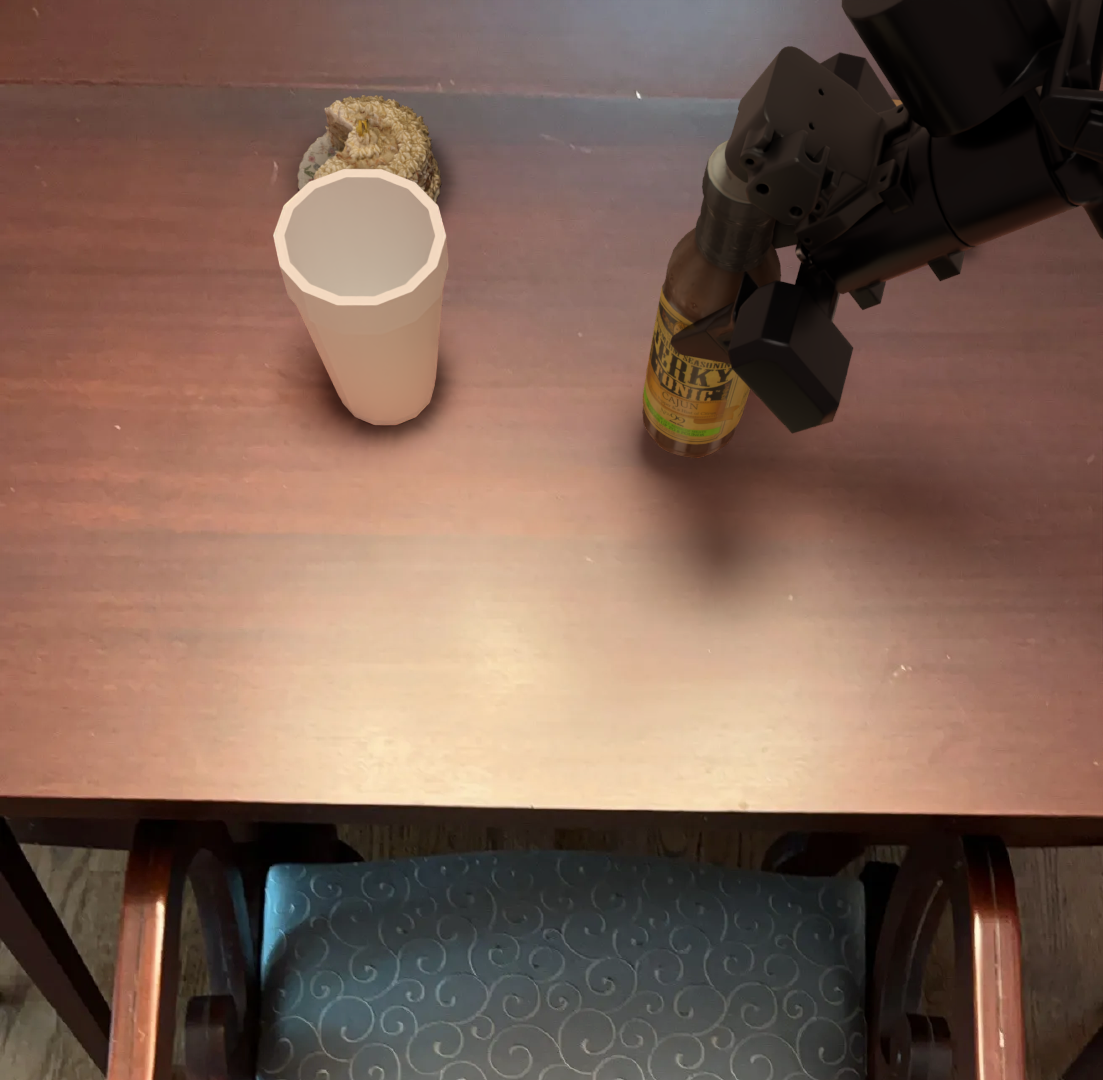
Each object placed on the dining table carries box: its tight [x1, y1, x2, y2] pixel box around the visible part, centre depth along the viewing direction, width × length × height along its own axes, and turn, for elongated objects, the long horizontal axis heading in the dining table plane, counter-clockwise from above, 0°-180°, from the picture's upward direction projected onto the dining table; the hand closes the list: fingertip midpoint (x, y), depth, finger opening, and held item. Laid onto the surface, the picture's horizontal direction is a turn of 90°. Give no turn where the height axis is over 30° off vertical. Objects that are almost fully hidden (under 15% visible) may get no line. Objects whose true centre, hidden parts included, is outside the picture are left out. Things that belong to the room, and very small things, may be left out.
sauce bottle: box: [641, 139, 782, 459], centre depth 64 cm, size 6×6×20 cm
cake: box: [297, 94, 442, 204], centre depth 79 cm, size 10×10×5 cm
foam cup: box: [272, 169, 450, 426], centre depth 71 cm, size 10×9×13 cm
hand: (690, 297), depth 63 cm, fingers closed on sauce bottle, 6 cm apart
